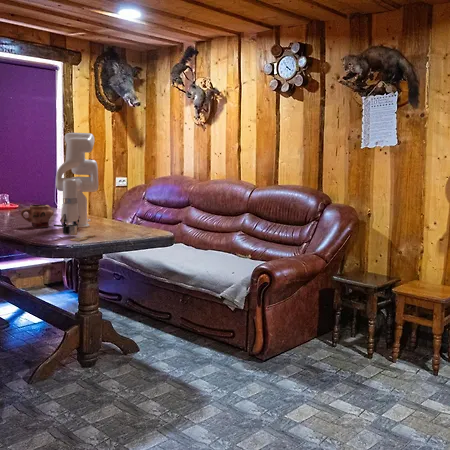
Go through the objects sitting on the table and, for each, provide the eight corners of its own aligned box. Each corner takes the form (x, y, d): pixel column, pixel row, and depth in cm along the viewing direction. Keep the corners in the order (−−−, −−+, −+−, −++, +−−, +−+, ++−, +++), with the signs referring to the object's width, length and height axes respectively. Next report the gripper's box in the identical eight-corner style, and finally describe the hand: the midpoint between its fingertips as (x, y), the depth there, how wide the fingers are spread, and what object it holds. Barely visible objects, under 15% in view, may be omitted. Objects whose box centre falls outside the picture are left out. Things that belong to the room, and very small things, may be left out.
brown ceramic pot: (25, 229, 315) (25, 206, 313) (17, 227, 323) (17, 204, 321) (57, 227, 328) (57, 205, 326) (48, 224, 337) (48, 203, 335)
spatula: (90, 235, 298) (89, 234, 297) (98, 236, 296) (98, 235, 296) (70, 240, 281) (70, 238, 281) (79, 241, 279) (79, 239, 279)
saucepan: (80, 233, 295) (80, 225, 294) (71, 235, 288) (71, 226, 287) (58, 232, 300) (57, 223, 299) (49, 233, 293) (49, 224, 292)
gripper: (74, 199, 299) (74, 230, 302) (54, 202, 283) (54, 234, 285) (85, 200, 297) (85, 231, 299) (65, 202, 281) (66, 235, 283)
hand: (70, 232), depth 292 cm, fingers closed on saucepan, 7 cm apart
